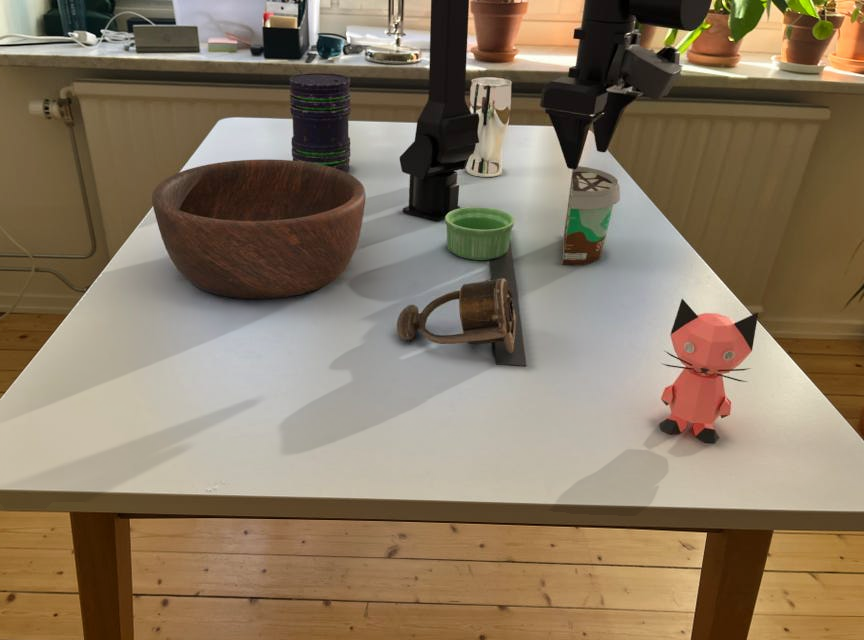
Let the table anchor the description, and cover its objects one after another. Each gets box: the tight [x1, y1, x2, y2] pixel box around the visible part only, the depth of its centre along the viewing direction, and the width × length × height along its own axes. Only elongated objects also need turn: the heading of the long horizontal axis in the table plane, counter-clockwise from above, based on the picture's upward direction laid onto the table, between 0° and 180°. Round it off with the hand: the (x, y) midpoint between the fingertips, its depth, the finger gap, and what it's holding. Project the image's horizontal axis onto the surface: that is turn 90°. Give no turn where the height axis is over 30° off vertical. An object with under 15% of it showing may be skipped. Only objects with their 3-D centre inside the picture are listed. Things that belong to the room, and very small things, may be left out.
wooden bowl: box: [151, 158, 367, 300], centre depth 99 cm, size 25×25×10 cm
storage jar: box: [289, 72, 352, 174], centre depth 135 cm, size 10×10×15 cm
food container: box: [561, 165, 621, 266], centre depth 106 cm, size 12×6×10 cm, turn 168°
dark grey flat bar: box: [489, 239, 527, 367], centre depth 98 cm, size 38×3×1 cm, turn 175°
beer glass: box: [466, 76, 513, 178], centre depth 136 cm, size 7×7×15 cm
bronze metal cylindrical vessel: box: [396, 278, 516, 354], centre depth 84 cm, size 7×13×10 cm
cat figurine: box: [658, 298, 759, 444], centre depth 70 cm, size 7×7×12 cm
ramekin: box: [444, 206, 515, 261], centre depth 107 cm, size 9×9×4 cm
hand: (587, 159), depth 98 cm, fingers open, 9 cm apart
